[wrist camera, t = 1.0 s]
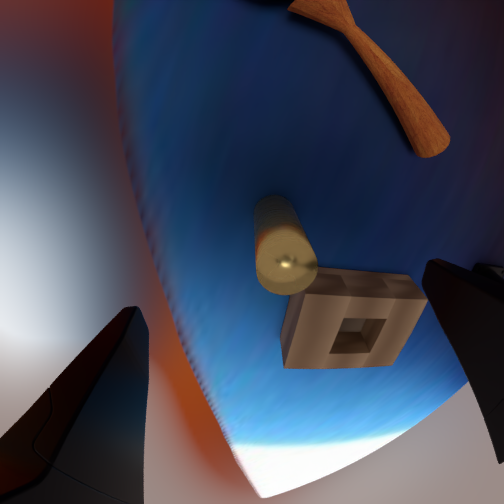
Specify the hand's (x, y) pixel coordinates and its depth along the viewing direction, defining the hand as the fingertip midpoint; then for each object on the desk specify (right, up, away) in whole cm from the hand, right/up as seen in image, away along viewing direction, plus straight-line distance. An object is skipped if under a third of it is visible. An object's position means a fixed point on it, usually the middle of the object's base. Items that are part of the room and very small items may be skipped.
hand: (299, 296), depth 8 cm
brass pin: (0, +4, +13) cm, 14 cm away
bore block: (+7, -4, +17) cm, 19 cm away
